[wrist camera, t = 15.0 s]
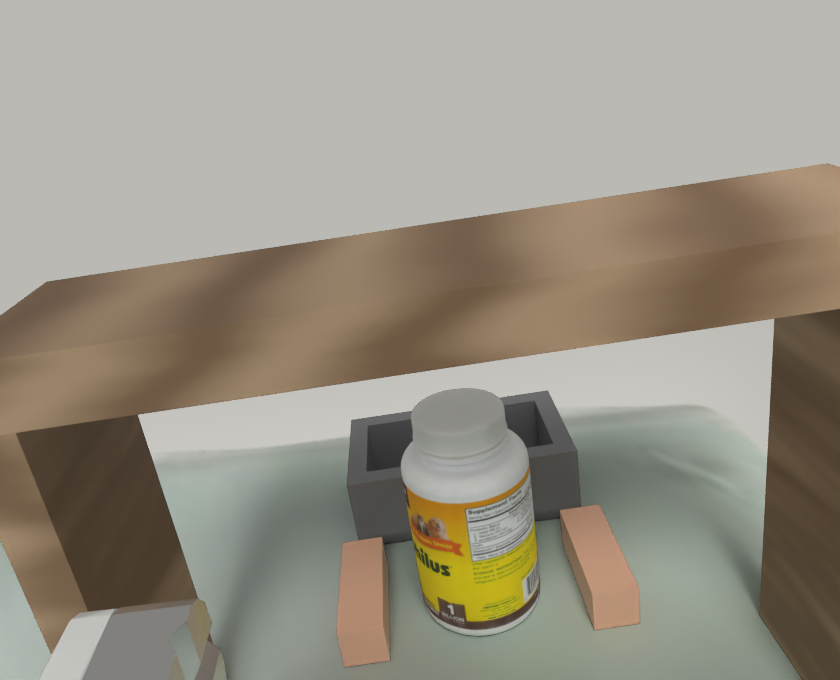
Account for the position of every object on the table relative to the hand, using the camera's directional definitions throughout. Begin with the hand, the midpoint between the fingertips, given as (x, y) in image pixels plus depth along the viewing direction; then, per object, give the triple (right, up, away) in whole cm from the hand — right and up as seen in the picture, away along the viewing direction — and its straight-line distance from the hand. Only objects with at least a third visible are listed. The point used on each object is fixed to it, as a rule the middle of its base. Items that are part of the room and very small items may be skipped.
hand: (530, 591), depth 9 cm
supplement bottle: (+2, -9, +25) cm, 27 cm away
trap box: (+1, -6, +33) cm, 34 cm away
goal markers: (+2, -9, +25) cm, 27 cm away
